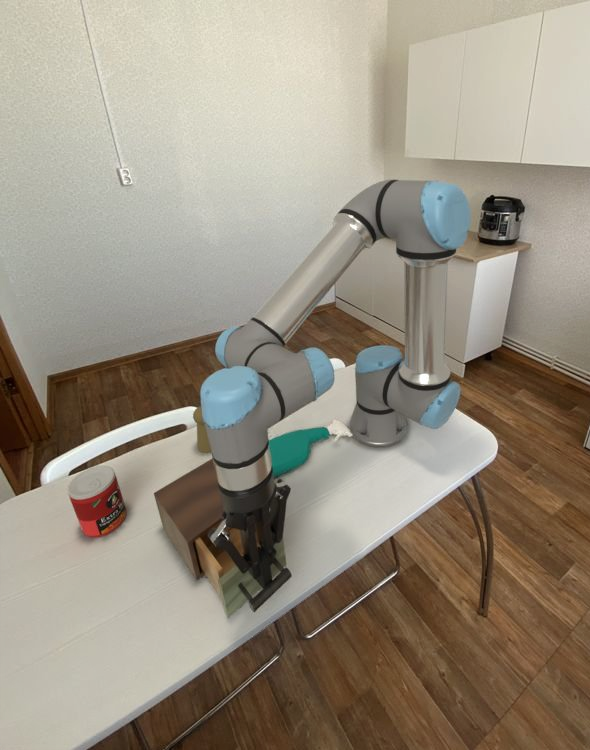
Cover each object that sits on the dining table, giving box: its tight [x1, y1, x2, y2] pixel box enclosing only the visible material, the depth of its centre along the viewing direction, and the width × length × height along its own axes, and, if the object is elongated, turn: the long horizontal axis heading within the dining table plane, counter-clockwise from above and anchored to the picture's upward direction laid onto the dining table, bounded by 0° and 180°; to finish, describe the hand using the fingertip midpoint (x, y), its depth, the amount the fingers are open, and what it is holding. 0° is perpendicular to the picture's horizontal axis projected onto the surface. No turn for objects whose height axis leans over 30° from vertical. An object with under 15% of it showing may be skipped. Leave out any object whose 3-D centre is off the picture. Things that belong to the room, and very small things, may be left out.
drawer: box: [193, 521, 293, 619], centre depth 66 cm, size 18×11×8 cm, turn 47°
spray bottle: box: [269, 418, 353, 478], centre depth 96 cm, size 3×11×25 cm
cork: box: [192, 405, 212, 454], centre depth 96 cm, size 6×6×11 cm
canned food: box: [67, 465, 127, 539], centre depth 76 cm, size 8×8×11 cm
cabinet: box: [153, 458, 223, 581], centre depth 74 cm, size 15×13×10 cm
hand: (264, 582), depth 62 cm, fingers closed
